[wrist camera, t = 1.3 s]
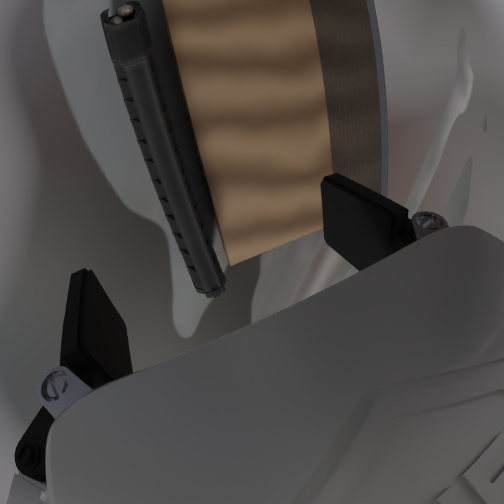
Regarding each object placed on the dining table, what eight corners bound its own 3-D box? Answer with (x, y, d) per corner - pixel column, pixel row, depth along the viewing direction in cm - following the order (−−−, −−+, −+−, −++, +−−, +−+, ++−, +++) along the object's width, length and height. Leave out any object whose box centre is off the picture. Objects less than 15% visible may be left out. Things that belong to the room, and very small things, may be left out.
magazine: (239, 313, 32) (165, -14, 8) (212, 325, 31) (93, 9, 8) (190, 215, 42) (132, 1, 18) (169, 223, 41) (99, 12, 18)
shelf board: (157, -11, 19) (159, -16, 18) (310, -21, 23) (317, -24, 22) (227, 259, 39) (230, 265, 38) (339, 214, 43) (345, 218, 42)
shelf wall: (306, -12, 23) (359, -29, 16) (313, -11, 23) (367, -27, 16) (334, 210, 40) (378, 241, 33) (340, 208, 40) (384, 237, 33)
